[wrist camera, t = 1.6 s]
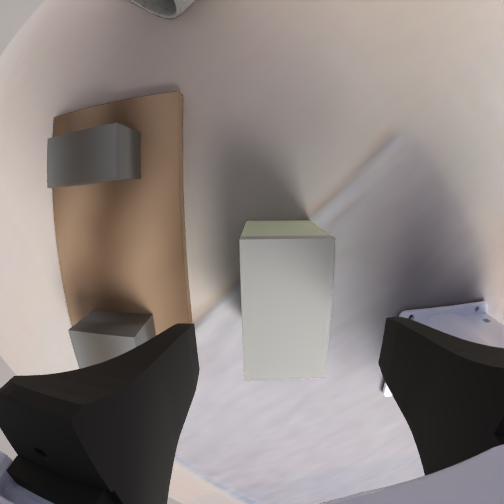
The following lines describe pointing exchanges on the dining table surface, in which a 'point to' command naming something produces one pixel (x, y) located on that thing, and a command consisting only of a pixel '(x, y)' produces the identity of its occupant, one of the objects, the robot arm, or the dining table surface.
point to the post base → (120, 222)
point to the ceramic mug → (164, 7)
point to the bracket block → (285, 299)
